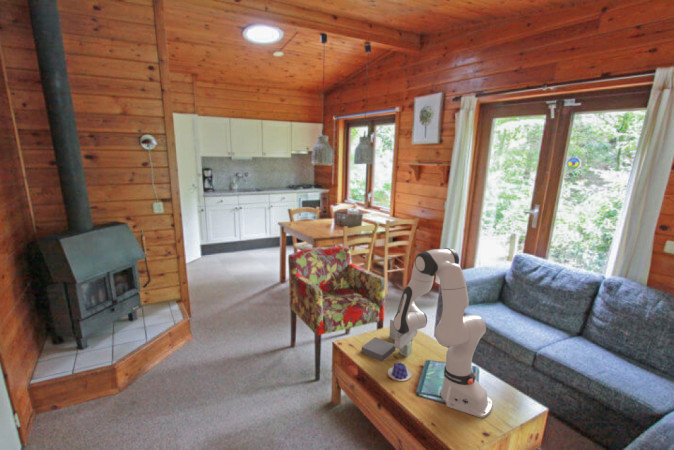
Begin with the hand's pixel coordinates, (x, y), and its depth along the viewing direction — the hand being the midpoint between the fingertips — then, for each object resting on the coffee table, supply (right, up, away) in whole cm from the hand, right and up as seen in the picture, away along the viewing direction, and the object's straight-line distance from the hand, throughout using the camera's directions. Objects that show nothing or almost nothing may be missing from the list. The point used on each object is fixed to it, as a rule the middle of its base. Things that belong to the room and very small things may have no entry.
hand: (405, 349), depth 197 cm
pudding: (-7, -7, -18) cm, 20 cm away
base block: (-15, -3, +3) cm, 16 cm away
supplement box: (-2, 0, +17) cm, 17 cm away
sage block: (0, -3, +1) cm, 3 cm away
